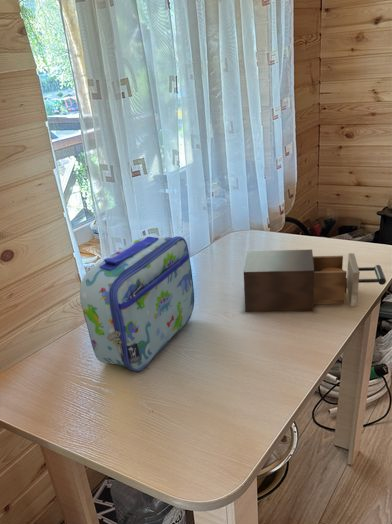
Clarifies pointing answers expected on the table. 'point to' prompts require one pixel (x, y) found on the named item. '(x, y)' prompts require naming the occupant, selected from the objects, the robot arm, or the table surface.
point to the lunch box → (138, 300)
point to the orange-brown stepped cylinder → (336, 270)
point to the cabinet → (279, 281)
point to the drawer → (339, 279)
